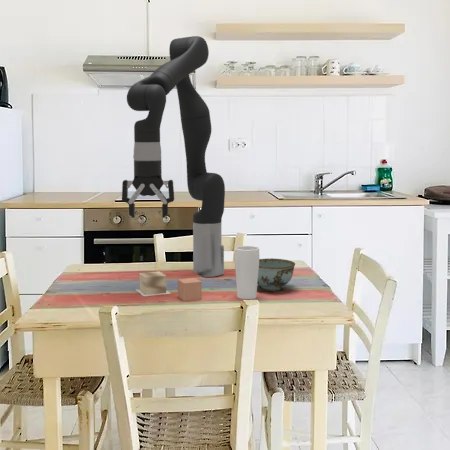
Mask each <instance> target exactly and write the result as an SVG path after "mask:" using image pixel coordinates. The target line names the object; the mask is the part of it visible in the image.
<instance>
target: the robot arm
mask: <svg viewBox="0 0 450 450" xmlns="http://www.w3.org/2000/svg"><path fill="white" fill-rule="evenodd" d="M209 51H210V50H209V46H208V44H207V41H206V39H205V38H204V37H202V36H199V35H193V36H186V37H178V38H174V39H172V40H171V41H170V44H169V61H167V62H164V63H163V64H161V65H160V66H159V67H157V68H156V69H155V70H154V71H153V72H152V73H151V74H150V75H149V76H147V77H144V78H142V79H141V80H139V81H137V82H135V83H134V84H133V85H132V86H130V88H129V89H128V91H127V94H126V102H127V105H128V107H129V108H130V109H132V110H133V111H135V112H148V114H147V116H146V118H143V119H140V120H137V121H135V123H134V127H133V128H134V130H133V131H134V132H133V134H134V135H133V136H134V141H133V144H134V145H133V157H132V158H133V180H127V179H124V180H122V185H121V189H122V190H121V201H122V202H123V203H126V204H128V214H129V216H131V219H134V218H136V210H135V209H136V204H135V201H136V200H137V199H138V197H139V196H140V195H141V196H142V197H145V196H150V197H154V196H156V197H157V198H158V199H159V200H160V201H161V202H162V205H161V209H162V210H161V211H162V212H161V213H162V216H161V217H162V218H163V219H165V218H166V216H168V215H169V207H168V206H169V204H170V203H173V202H174V201H175V189H174V181H173V179H169V180H163V179H162V177H163V176H162V147H161V125H162V120H163V115H164V111H165V107H166V105H167V95H168V94H170V92H171V91H173V89H174V88H176V91H177V98H178V99H177V100H178V106H179V114H180V123H181V129H182V130H181V131H182V135H183V141H184V150H185V152H184V153H185V158H186V159H185V161H186V181H187V182H186V183H187V190H188V193H189V195H190V197H191V198H192V199H193V200H196V201H201V208H200V210H198V211H196V212H194V213H193V215H192V236H193V237H192V238H193V239H192V252H193V255H192V260H193V261H192V263H193V268H192V269H193V273H194V274H196V275H198V276H200V277H203V278H207V277H208V278H210V277H211V278H212V277H218V276H222V275H225V247H224V245H223V244H222V221H223V220H222V219H223V215H224V213H225V212H224V211H225V197H226V186H225V185H226V184H225V181H224V178H223V176H222V175H220V174H219V173H217V172H208V171H207V165H206V150H207V147H208V144H209V142H210V138H211V137H212V136H211V134H212V123H211V114H210V112H211V111H210V108H209V107H208V105H207V103H206V101H204V99H203V98H202V96H201V95H200V94H199V92H198V91H197V90H196V88H195V87H194V85H193V83H192V80H191V78H190V75H191V74H192V73H194V72H195V71H196V70H198V69H199V68H201V67H203V66H204V65H205V64H206V63H207V61H208V59H209ZM131 185H132V186H133V188H134V189H135V192H133V194H132V195H131V197H130V198H129V196H128V195H129V188H131ZM163 185H164V186H165V188H166V189H168V198H167V197H166V196H165V195H164V193H163V192H162V190H161V188H162V187H163Z"/></svg>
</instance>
